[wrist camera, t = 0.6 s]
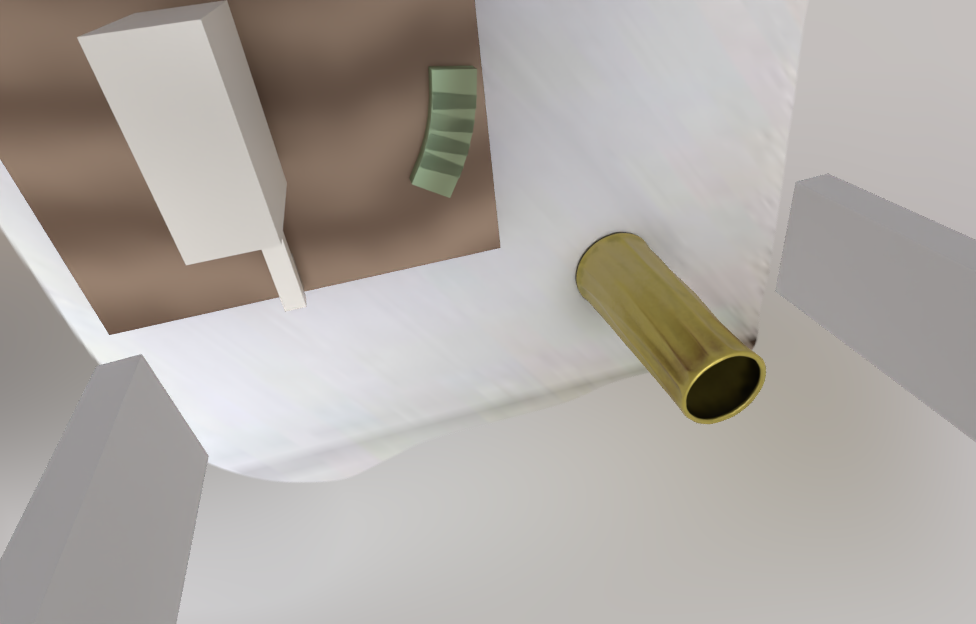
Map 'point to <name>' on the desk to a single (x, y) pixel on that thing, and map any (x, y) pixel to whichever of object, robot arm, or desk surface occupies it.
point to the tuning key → (198, 133)
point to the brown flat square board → (296, 135)
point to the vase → (670, 329)
